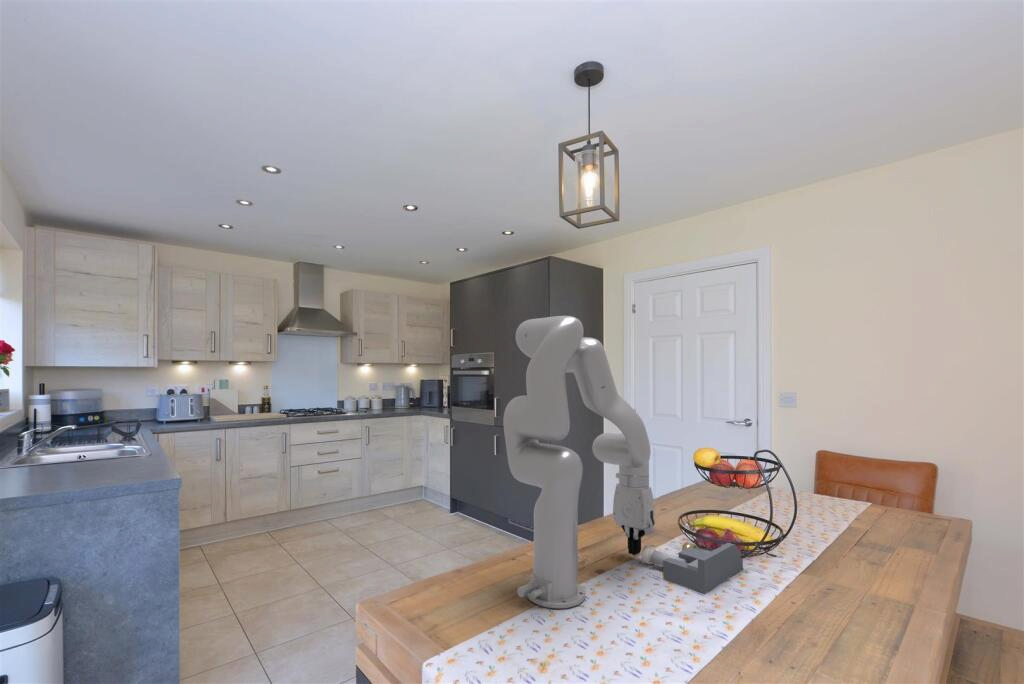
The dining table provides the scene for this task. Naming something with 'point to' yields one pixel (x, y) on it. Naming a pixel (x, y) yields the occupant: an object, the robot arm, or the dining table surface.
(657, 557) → the light grey capped cylinder
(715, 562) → the mount
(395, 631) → the dining table surface
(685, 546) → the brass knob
